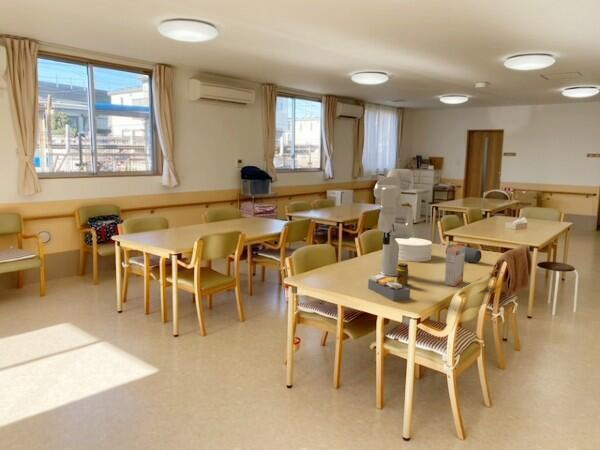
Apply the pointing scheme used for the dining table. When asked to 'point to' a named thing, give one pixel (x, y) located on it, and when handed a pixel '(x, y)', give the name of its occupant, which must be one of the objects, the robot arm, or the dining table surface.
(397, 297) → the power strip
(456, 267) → the cracker box
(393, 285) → the rocker outlet
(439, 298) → the dining table surface
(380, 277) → the outlet rocker
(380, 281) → the outlet rocker
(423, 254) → the plate stack
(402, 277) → the condiment
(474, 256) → the bluetooth speaker
